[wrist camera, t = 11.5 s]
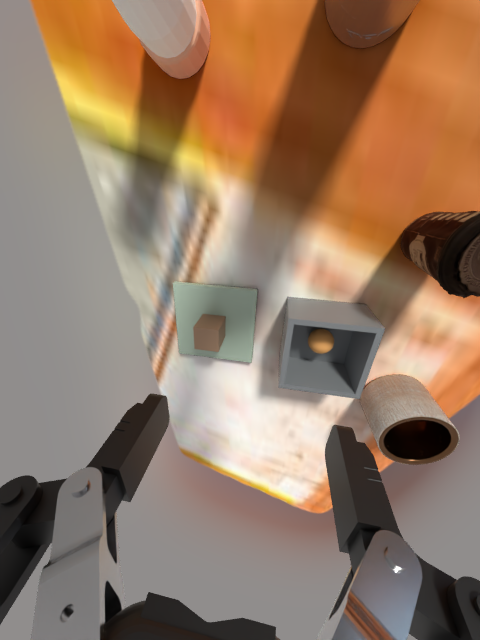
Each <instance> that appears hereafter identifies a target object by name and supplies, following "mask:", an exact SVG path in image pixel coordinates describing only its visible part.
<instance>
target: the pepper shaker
mask: <svg viewBox="0 0 480 640" xmlns="http://www.w3.org/2000/svg"><path fill="white" fill-rule="evenodd" d="M112 1H113V3H114V5H115V6H116V8H117V10H118V11H119V13H120V15H121V16H122V18H123V19H124V21H125V22H126V24H127V25H128V26H129V28H130V29H131V30H132V31H133V33H134V34H135V35H136V36H137V37H138V38H139V40H140V42H141V45H142V46H143V47H144V49H145V50H146V52H147V53H148V54H149V56H150V57H151V58H152V59H153V60H154V61H155V62H156V63H157V64H158V66H159V67H160V68H161V69H162V70H163V71H164V72H166V73H167V74H168V75H170V76H171V77H174V78H178V79H183V78H189V77H191V76H192V75H194V74H195V73H197V72H198V70H199V69H200V68H201V66H202V65H203V64H204V62H205V59H206V56H207V54H208V51H209V44H210V37H211V36H210V25H209V19H208V16H207V13H206V10H205V7H204V4H203V2H202V0H112Z"/></svg>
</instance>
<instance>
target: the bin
mask: <svg viewBox="0 0 480 640" xmlns="http://www.w3.org/2000/svg"><path fill="white" fill-rule="evenodd" d="M316 329H325V330H328V331H329V332H330V333H331V334H332V335H333V338H334V345H333V348H332V349H331V350H330V351H329V352H327V353H323V354H319V353H316V352H314V351H313V350H312V349H311V348H310V347H309V345H308V337H309V335H310V333H311V332H312V331H314V330H316ZM384 330H385V328H384V326H383V325H382V324H381V323H380V321H379V320H378V319H377V318H376V317H375V315H374V314H373V313H372V312H371V310H370V309H369V308H368V307H367V305H366V304H358V303H347V302H336V301H326V300H315V299H304V298H294V297H288V298H287V305H286V312H285V320H284V327H283V334H282V341H281V348H280V355H279V388H286V389H293V390H300V391H307V392H314V393H321V394H328V395H335V396H342V397H349V398H356V399H360V397H361V394H362V391H363V388H364V386H365V383H366V380H367V377H368V375H369V372H370V369H371V366H372V363H373V361H374V358H375V355H376V352H377V350H378V347H379V344H380V341H381V339H382V336H383V333H384Z"/></svg>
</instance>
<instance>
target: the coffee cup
mask: <svg viewBox="0 0 480 640" xmlns="http://www.w3.org/2000/svg"><path fill="white" fill-rule="evenodd" d="M401 250H402V252H403V253H404V255H405V256H406V257H407V258H408V259H410V260H411V261H413V262H414V263H415V265H417V266H418V267H419V268H421V269H422V270H423V271H425V272H426V273H427V274H428V275H430V276H432V277H433V278H434V279H435V280H437V281H438V282H439V284H440V286H441V287H443V289H444V290H446V291H447V292H448V294H454V295H456V296H461V297H463V298H465V297H468V296H470V295H474V296H478V297H479V296H480V212H477V211H469V212H463V213H451V212H433V213H429V214H426V215H424V216H422V217H420V218H418V219H416V220H414V221H413V222H412V223H411V224H410V225H409V226H408V227H407V228H406V229H405V230H404V232H403V235H402V239H401Z"/></svg>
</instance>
